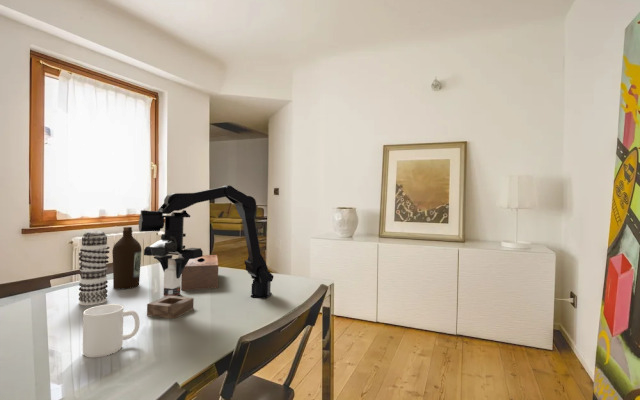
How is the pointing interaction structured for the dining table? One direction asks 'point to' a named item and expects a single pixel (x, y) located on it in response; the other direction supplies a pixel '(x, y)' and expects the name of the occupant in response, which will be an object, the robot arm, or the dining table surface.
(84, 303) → the decorative candle
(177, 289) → the supplement bottle
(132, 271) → the olive oil
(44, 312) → the dining table surface
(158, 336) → the dining table surface
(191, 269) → the tissue box cover
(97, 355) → the cup
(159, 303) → the socket block
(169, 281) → the salt shaker
